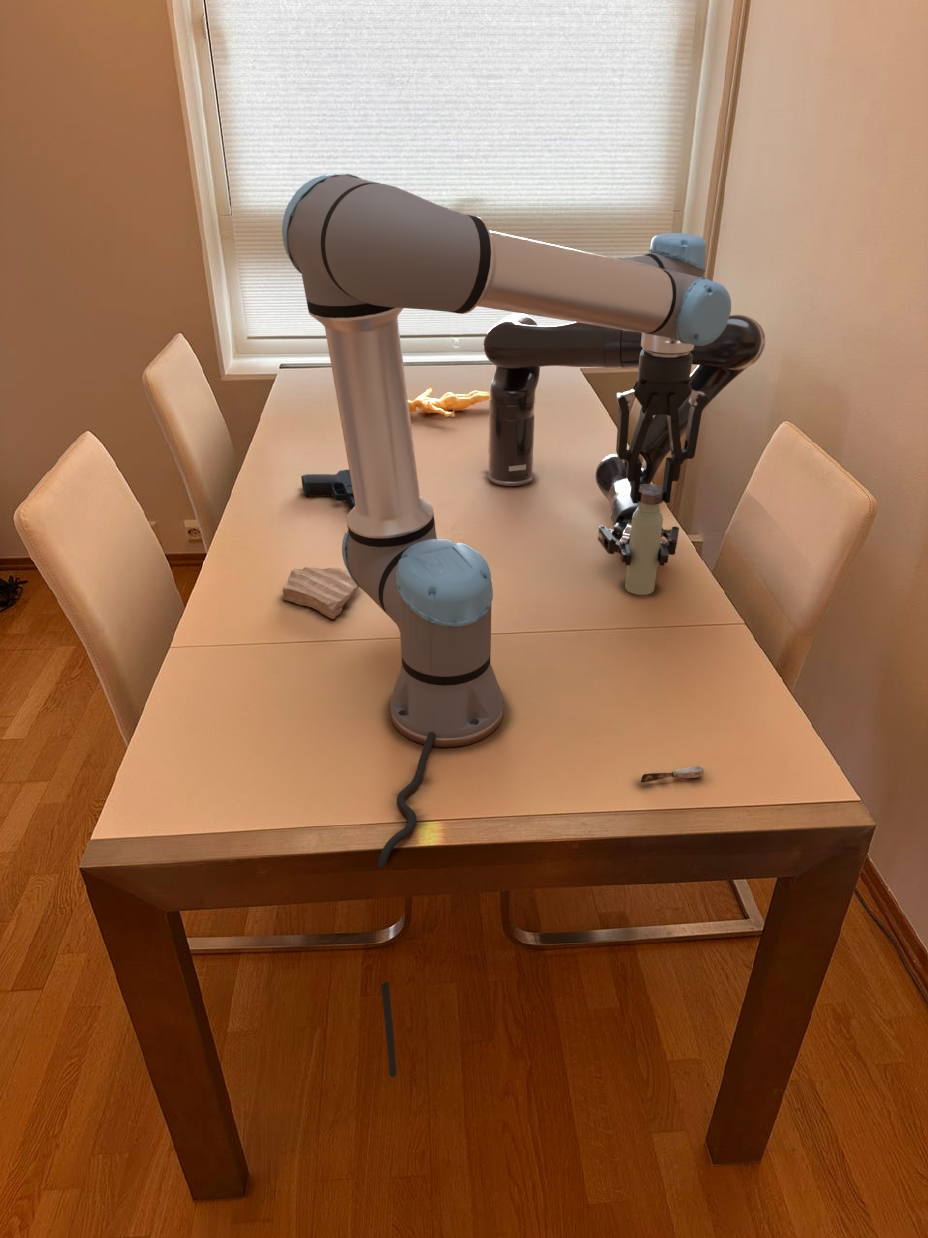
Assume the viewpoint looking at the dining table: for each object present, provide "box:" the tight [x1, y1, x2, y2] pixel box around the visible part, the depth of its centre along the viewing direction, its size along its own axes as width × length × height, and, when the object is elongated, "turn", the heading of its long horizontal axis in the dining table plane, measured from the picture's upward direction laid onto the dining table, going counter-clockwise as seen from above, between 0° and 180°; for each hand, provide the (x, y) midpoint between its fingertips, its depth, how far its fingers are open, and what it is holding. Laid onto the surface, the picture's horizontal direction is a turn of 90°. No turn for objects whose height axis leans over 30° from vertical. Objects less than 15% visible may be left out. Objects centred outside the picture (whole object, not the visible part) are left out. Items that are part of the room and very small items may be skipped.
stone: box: [281, 566, 360, 620], centre depth 147 cm, size 13×12×3 cm
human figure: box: [408, 385, 490, 418], centre depth 225 cm, size 20×20×4 cm
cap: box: [638, 483, 665, 505], centre depth 140 cm, size 4×4×2 cm
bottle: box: [624, 502, 664, 596], centre depth 145 cm, size 5×5×17 cm
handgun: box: [301, 469, 355, 511], centre depth 178 cm, size 3×18×12 cm
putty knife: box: [640, 765, 705, 784], centre depth 109 cm, size 1×8×2 cm, turn 103°
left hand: (649, 499), depth 141 cm, fingers closed on cap, 4 cm apart
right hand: (645, 560), depth 144 cm, fingers closed on bottle, 5 cm apart
